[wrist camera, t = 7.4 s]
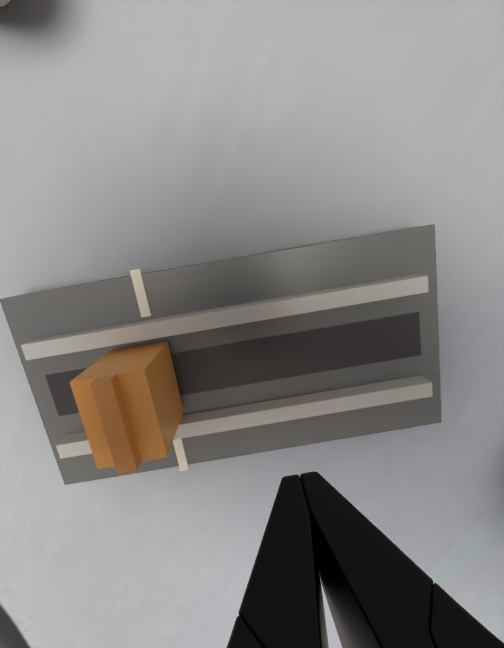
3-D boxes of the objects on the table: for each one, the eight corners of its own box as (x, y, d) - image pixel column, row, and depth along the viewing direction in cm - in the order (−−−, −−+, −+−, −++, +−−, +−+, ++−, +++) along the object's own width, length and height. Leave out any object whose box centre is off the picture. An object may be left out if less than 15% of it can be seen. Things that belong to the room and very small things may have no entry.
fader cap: (184, 410, 17) (163, 466, 13) (129, 419, 17) (90, 478, 13) (167, 341, 16) (139, 374, 12) (110, 350, 16) (60, 388, 12)
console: (422, 409, 20) (452, 436, 17) (83, 466, 21) (56, 502, 18) (413, 221, 18) (446, 216, 15) (23, 288, 18) (-19, 296, 15)
